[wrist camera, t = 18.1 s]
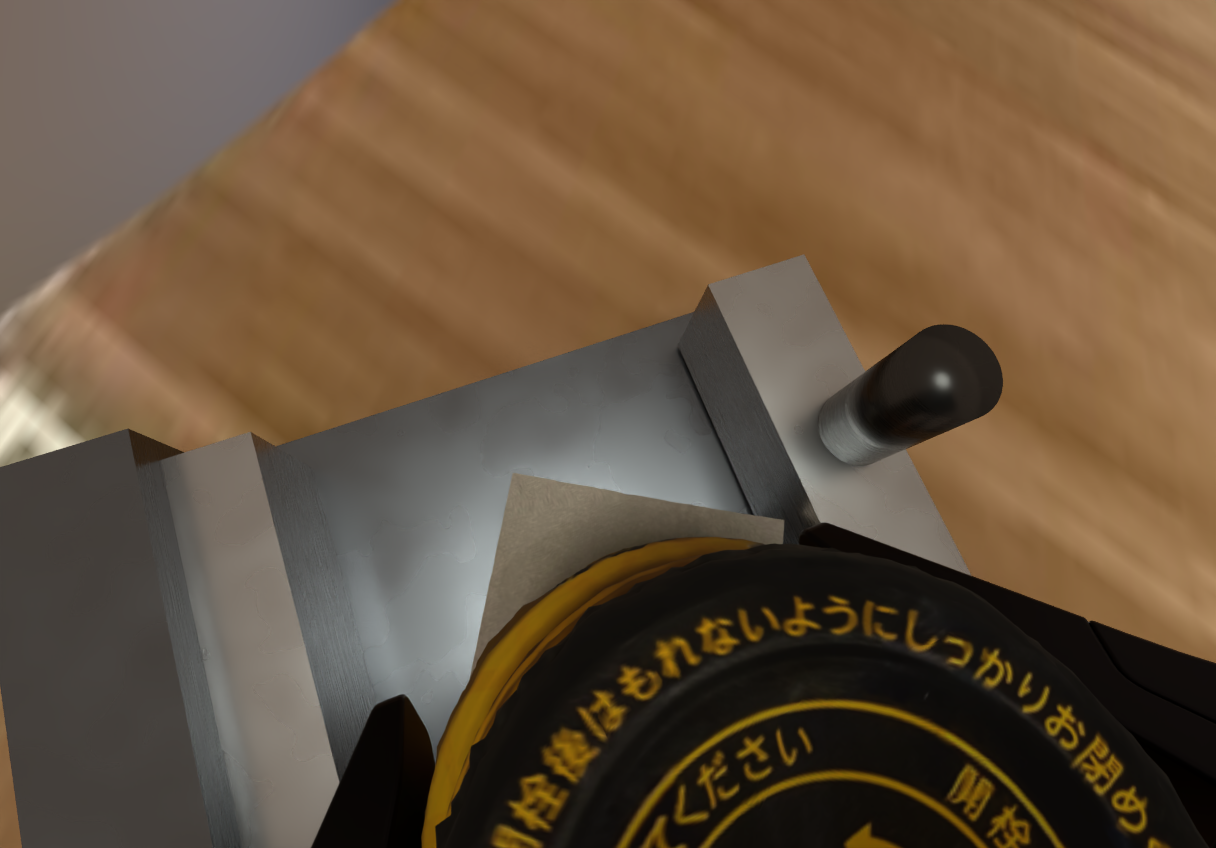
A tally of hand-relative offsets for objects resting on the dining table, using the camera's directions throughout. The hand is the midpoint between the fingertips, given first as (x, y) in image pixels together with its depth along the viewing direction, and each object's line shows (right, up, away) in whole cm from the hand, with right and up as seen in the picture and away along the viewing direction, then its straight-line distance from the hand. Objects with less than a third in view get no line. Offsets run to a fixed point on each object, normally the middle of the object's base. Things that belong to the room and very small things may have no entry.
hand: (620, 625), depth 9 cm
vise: (-2, -1, +10) cm, 11 cm away
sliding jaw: (+5, +1, +11) cm, 12 cm away
